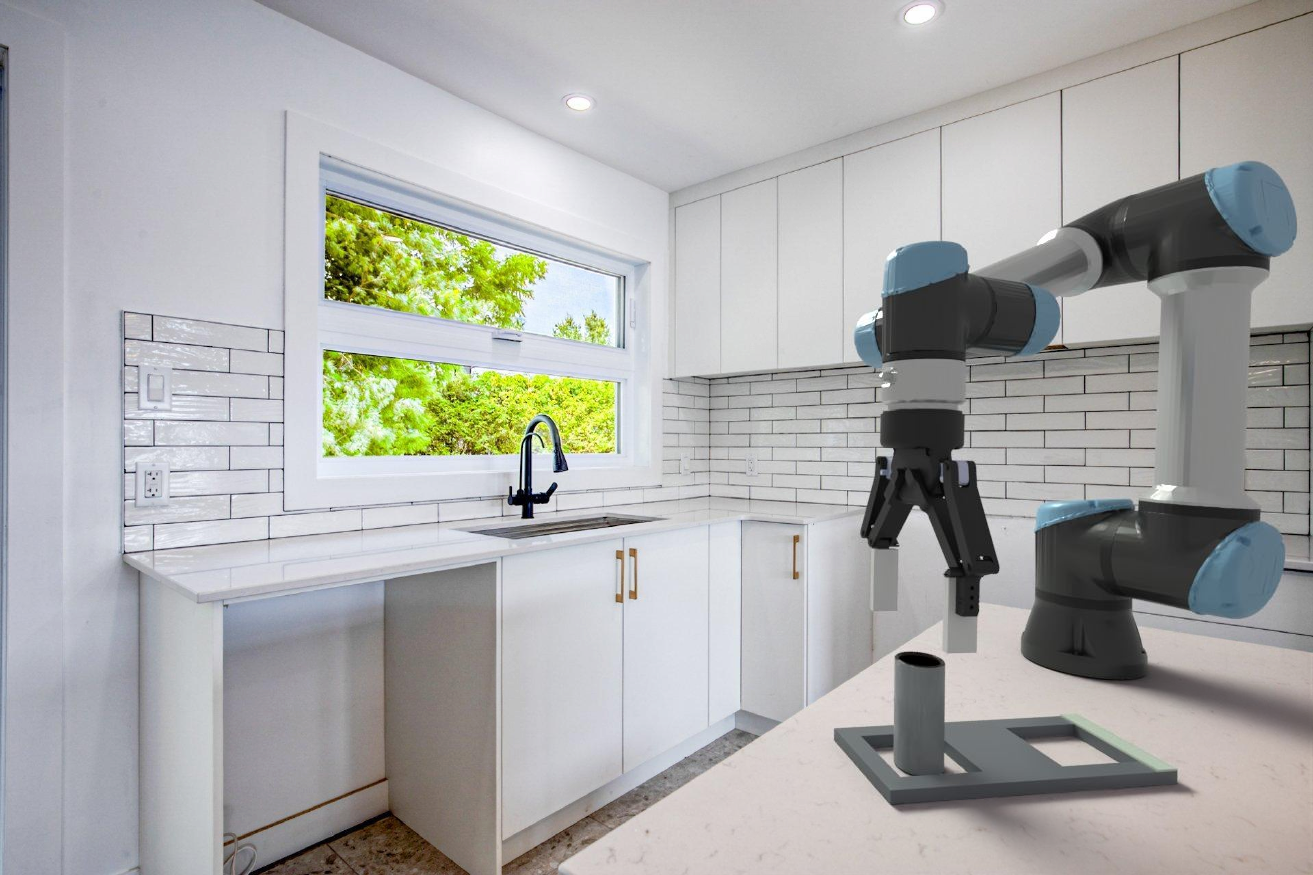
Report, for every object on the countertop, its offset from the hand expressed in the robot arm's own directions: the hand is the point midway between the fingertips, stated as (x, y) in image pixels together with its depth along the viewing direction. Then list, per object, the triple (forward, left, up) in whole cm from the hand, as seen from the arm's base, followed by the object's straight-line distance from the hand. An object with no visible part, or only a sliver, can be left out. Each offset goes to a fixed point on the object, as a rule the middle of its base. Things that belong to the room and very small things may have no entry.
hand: (917, 629), depth 63 cm
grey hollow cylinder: (0, 0, -13) cm, 13 cm away
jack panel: (-8, 0, -13) cm, 16 cm away
